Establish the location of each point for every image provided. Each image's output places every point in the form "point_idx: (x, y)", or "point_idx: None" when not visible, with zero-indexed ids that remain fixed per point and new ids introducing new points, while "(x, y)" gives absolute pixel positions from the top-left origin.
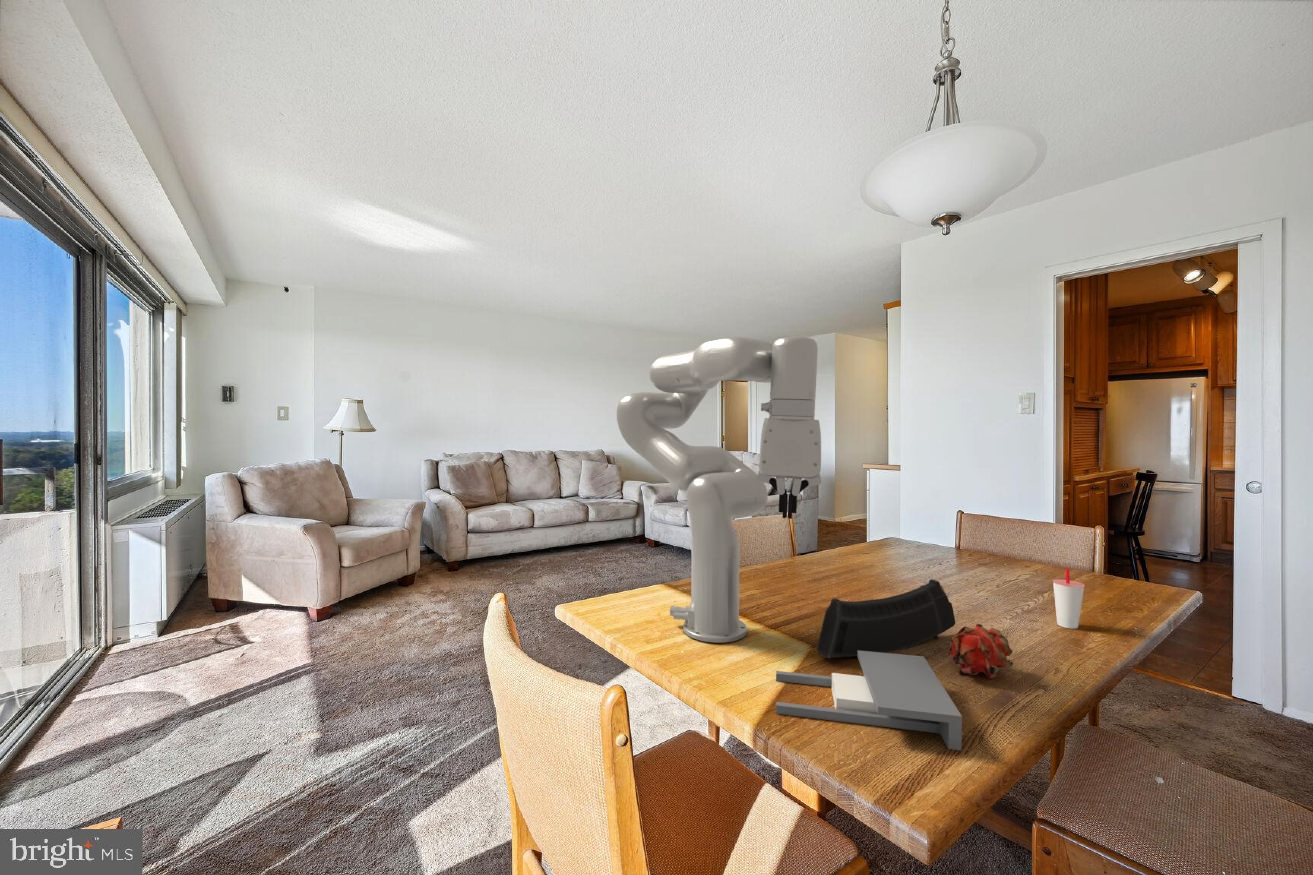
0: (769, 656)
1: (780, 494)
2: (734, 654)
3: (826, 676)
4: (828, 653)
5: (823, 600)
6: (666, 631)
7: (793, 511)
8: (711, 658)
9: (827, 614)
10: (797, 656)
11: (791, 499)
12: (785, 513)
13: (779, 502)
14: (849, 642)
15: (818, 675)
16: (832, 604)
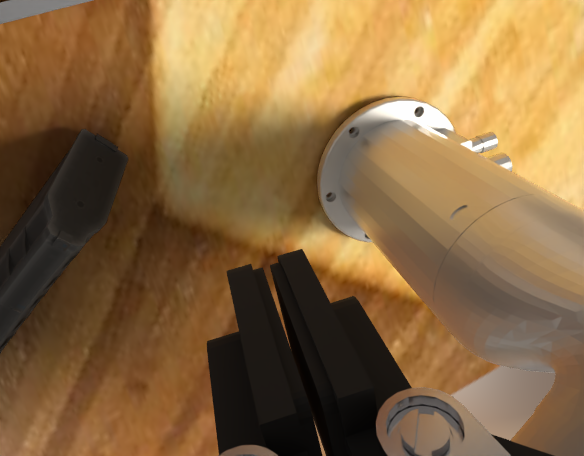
0: (233, 99)
1: (410, 389)
2: (312, 67)
3: (48, 9)
4: (86, 136)
5: (213, 443)
6: (484, 113)
7: (232, 335)
8: (356, 15)
9: (97, 214)
10: (172, 134)
11: (265, 384)
12: (286, 270)
13: (379, 345)
14: (41, 193)
15: (69, 4)
16: (77, 231)
